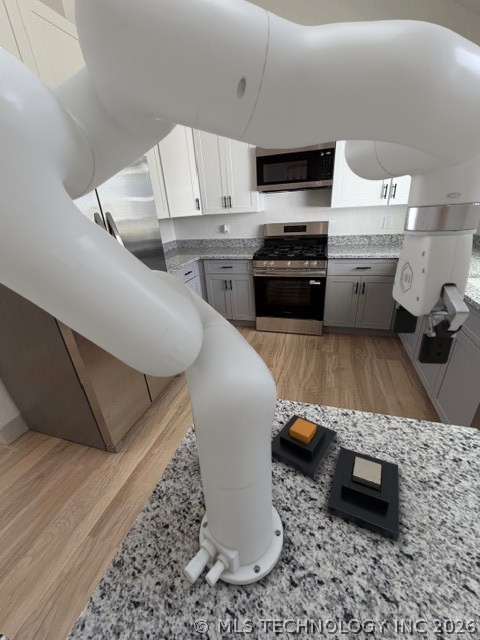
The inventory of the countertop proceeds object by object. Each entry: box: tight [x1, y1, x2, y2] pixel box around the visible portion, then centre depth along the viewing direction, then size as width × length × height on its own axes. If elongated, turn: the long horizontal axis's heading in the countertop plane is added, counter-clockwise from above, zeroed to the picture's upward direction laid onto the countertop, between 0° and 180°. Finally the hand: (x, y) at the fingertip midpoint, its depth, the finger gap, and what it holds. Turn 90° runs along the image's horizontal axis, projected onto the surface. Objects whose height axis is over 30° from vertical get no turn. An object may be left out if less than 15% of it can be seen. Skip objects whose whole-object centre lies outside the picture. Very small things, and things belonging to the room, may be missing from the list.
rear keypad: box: [271, 413, 338, 480], centre depth 56 cm, size 12×10×4 cm
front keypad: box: [326, 446, 400, 543], centre depth 47 cm, size 13×10×4 cm
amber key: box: [290, 418, 317, 444], centre depth 56 cm, size 4×4×2 cm
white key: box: [352, 457, 381, 492], centre depth 46 cm, size 4×4×2 cm
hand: (416, 345), depth 40 cm, fingers open, 9 cm apart
